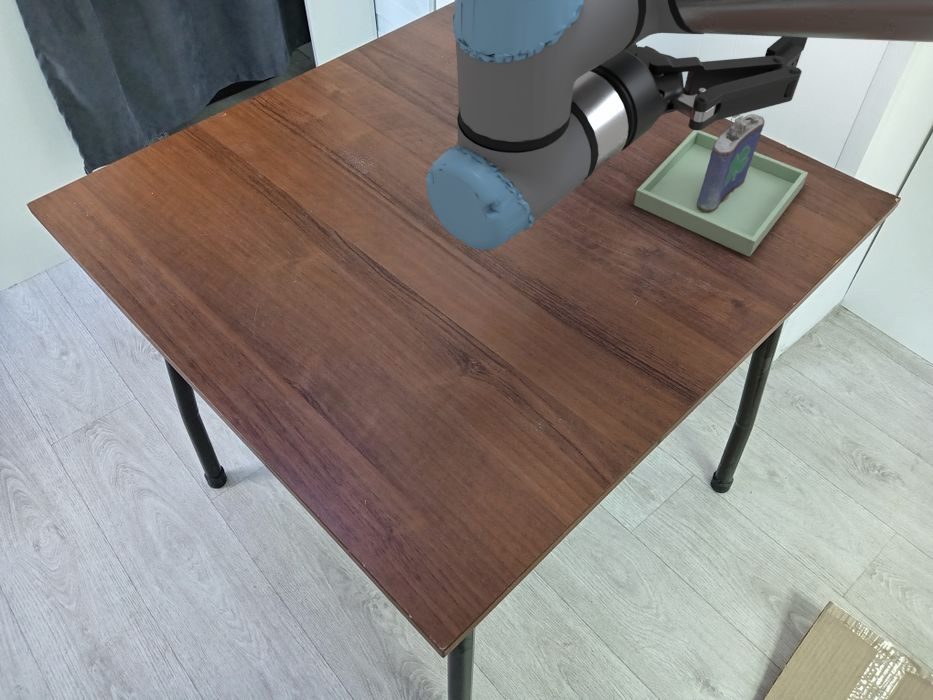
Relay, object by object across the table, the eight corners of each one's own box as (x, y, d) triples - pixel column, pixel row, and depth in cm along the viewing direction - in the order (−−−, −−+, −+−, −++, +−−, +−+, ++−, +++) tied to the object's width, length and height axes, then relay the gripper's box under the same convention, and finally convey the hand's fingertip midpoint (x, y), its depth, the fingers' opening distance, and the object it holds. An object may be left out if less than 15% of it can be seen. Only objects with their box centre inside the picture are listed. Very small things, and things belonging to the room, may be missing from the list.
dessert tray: (802, 187, 97) (808, 172, 95) (749, 257, 89) (755, 241, 88) (691, 143, 103) (695, 128, 101) (633, 205, 95) (636, 189, 94)
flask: (709, 216, 93) (731, 141, 85) (688, 205, 94) (708, 130, 86) (749, 179, 97) (774, 104, 89) (728, 169, 98) (751, 95, 90)
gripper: (474, 95, 69) (615, 3, 78) (722, 221, 58) (851, 97, 67) (473, 13, 63) (626, -75, 72) (748, 136, 52) (885, 13, 62)
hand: (734, 7), depth 70 cm, fingers open, 13 cm apart
